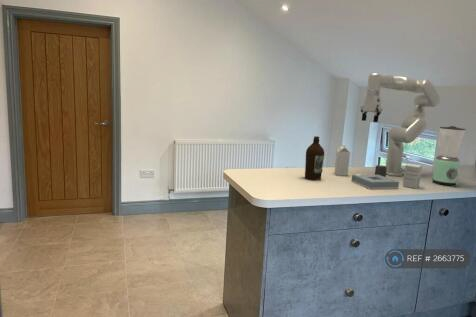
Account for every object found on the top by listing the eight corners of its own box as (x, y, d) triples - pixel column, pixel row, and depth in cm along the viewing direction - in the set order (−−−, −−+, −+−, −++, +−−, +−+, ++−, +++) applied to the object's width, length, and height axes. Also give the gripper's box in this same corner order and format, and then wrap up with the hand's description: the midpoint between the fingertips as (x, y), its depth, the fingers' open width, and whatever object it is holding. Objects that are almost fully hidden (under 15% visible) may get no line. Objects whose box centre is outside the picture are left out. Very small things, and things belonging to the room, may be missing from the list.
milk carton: (345, 173, 234) (348, 144, 231) (347, 176, 227) (350, 146, 224) (334, 173, 235) (337, 144, 231) (336, 175, 228) (339, 145, 224)
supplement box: (405, 184, 213) (408, 163, 211) (419, 187, 208) (422, 165, 206) (402, 186, 207) (405, 164, 205) (416, 189, 203) (419, 167, 201)
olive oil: (299, 177, 216) (303, 135, 212) (312, 175, 222) (316, 135, 218) (312, 181, 207) (316, 137, 203) (325, 179, 213) (329, 137, 209)
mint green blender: (463, 187, 213) (473, 128, 207) (441, 186, 212) (451, 127, 206) (443, 180, 232) (451, 125, 226) (423, 179, 231) (431, 124, 225)
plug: (380, 177, 228) (381, 165, 226) (385, 179, 224) (386, 166, 222) (374, 177, 227) (375, 165, 225) (378, 179, 222) (380, 166, 221)
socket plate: (377, 181, 218) (378, 173, 217) (398, 188, 201) (399, 180, 200) (351, 181, 213) (352, 173, 212) (370, 189, 196) (371, 181, 195)
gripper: (388, 94, 219) (384, 122, 222) (366, 93, 234) (363, 120, 237) (379, 93, 216) (375, 122, 219) (358, 93, 231) (355, 119, 234)
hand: (369, 121), depth 228 cm, fingers open, 9 cm apart
